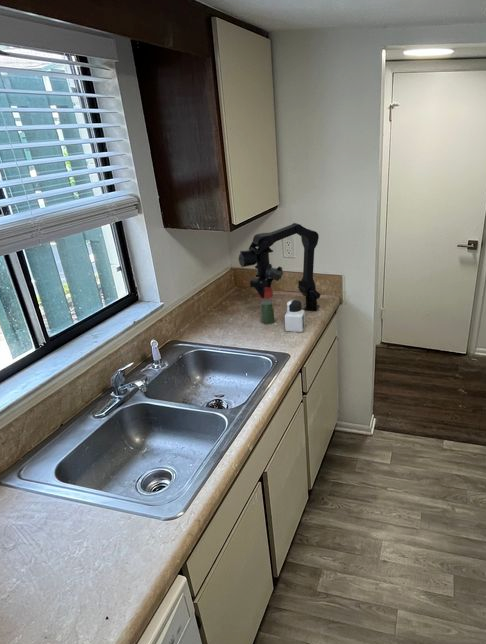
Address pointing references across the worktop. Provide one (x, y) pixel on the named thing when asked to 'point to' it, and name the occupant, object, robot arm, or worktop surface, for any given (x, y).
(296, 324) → the container
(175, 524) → the worktop surface
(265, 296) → the jar lid
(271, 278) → the robot arm
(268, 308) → the jam jar
